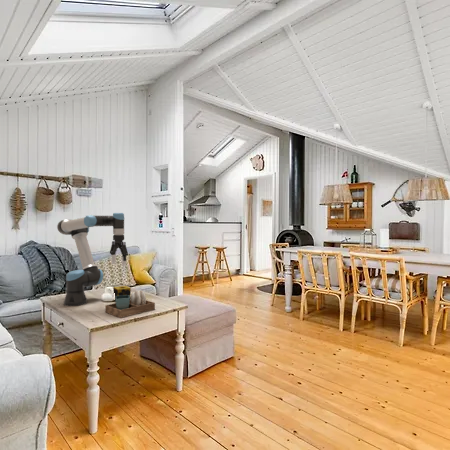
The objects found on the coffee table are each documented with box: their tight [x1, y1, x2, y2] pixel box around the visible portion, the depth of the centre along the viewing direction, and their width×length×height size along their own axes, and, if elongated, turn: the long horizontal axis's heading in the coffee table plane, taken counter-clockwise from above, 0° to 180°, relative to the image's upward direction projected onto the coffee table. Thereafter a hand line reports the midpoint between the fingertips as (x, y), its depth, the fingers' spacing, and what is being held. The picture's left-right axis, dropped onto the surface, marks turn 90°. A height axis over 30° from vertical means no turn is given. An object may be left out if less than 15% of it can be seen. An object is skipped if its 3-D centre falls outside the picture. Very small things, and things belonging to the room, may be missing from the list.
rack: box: [104, 290, 156, 319], centre depth 217 cm, size 18×26×12 cm
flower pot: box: [115, 295, 131, 310], centre depth 214 cm, size 9×9×9 cm
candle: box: [112, 285, 132, 303], centre depth 244 cm, size 10×10×10 cm
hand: (118, 264), depth 230 cm, fingers open, 13 cm apart
